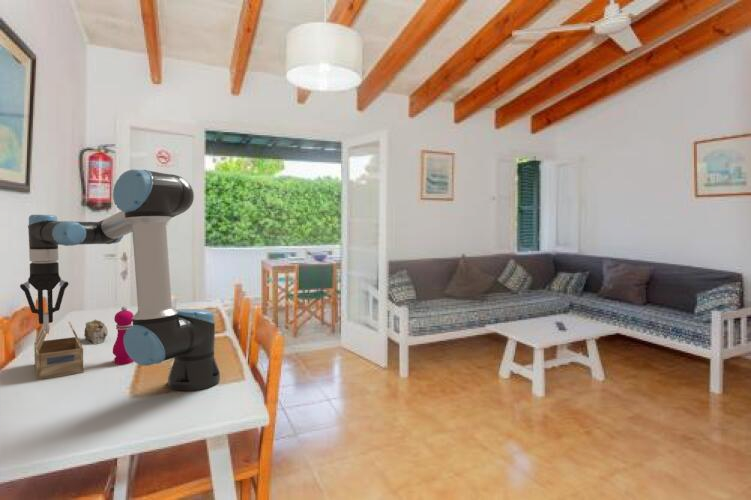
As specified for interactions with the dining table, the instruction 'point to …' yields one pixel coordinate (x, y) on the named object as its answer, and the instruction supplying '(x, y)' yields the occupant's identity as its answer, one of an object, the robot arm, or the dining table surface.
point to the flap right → (74, 333)
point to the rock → (95, 331)
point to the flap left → (40, 338)
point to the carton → (58, 358)
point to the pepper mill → (122, 336)
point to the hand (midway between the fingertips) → (46, 332)
